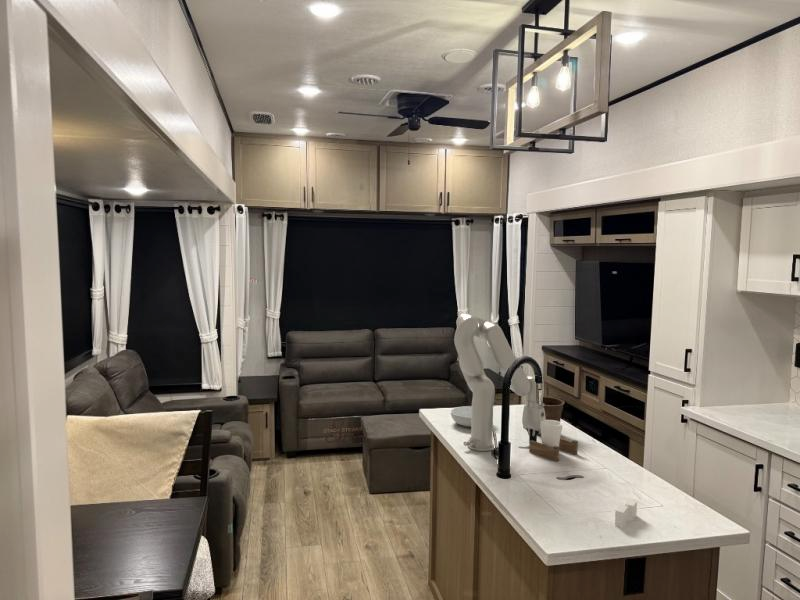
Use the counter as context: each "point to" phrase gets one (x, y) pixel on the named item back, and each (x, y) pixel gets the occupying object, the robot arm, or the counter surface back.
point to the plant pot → (552, 408)
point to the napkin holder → (625, 513)
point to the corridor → (553, 448)
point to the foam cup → (550, 432)
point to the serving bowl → (462, 415)
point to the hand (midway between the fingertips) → (532, 443)
